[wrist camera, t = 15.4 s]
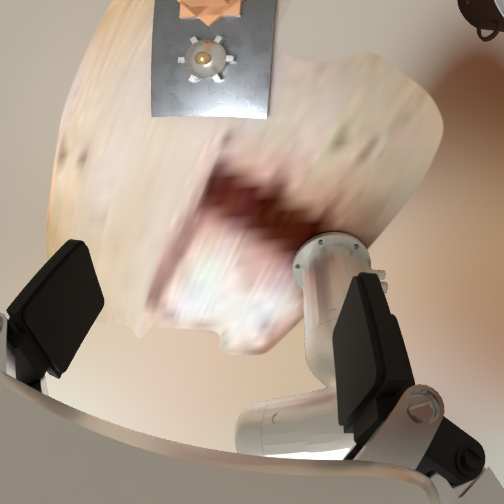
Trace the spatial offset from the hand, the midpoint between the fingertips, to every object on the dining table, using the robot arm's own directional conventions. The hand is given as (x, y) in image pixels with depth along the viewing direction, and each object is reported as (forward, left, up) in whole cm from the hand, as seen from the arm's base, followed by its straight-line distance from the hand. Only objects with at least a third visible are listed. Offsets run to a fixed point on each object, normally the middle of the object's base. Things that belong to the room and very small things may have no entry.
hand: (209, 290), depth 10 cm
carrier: (+8, -13, -30) cm, 34 cm away
